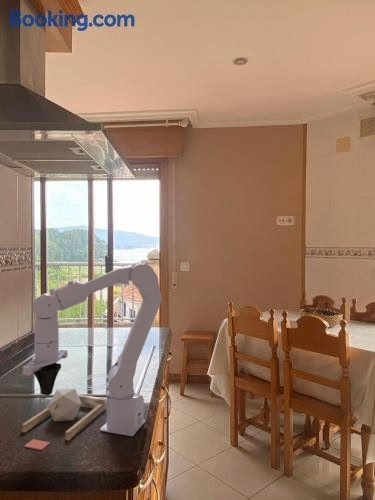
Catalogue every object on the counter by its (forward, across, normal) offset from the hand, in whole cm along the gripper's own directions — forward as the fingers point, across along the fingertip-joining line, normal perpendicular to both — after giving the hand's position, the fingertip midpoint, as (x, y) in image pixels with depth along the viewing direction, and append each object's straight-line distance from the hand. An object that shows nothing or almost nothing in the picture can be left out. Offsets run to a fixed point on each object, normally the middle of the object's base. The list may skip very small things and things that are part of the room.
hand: (46, 393), depth 91 cm
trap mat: (+10, +5, +1) cm, 12 cm away
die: (+11, -8, -1) cm, 14 cm away
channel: (+10, -8, 0) cm, 13 cm away
